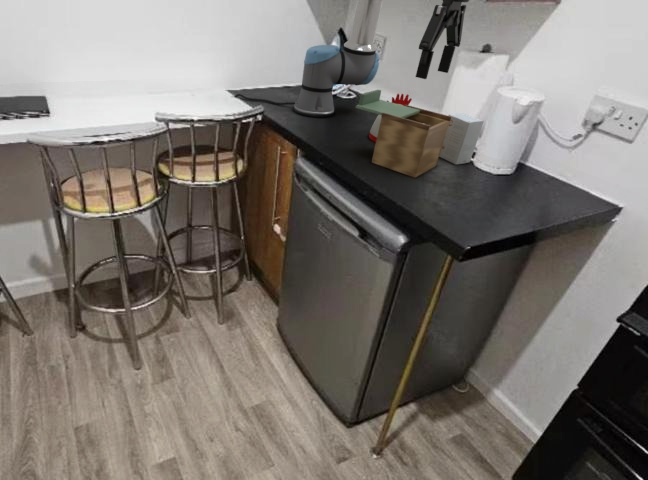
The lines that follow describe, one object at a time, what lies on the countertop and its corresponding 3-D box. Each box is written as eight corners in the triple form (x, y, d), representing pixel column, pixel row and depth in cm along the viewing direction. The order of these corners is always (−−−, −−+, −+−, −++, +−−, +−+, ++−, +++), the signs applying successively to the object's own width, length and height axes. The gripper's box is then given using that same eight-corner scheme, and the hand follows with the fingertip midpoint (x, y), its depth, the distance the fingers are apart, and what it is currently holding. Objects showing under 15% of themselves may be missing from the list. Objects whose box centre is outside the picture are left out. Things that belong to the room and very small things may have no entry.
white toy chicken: (418, 146, 150) (431, 100, 142) (380, 146, 147) (391, 99, 139) (398, 132, 161) (409, 88, 153) (362, 132, 158) (371, 87, 150)
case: (370, 162, 135) (382, 112, 127) (394, 151, 144) (406, 104, 136) (414, 178, 127) (429, 126, 119) (436, 165, 136) (451, 116, 128)
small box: (470, 162, 140) (484, 120, 133) (455, 165, 138) (469, 122, 131) (450, 153, 146) (463, 112, 139) (435, 155, 144) (448, 114, 137)
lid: (355, 107, 133) (358, 94, 131) (377, 101, 141) (380, 88, 139) (399, 120, 125) (402, 106, 123) (419, 112, 133) (423, 99, 131)
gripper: (452, -17, 99) (425, 84, 111) (491, -16, 115) (463, 72, 127) (420, -20, 103) (397, 77, 115) (462, -19, 119) (438, 66, 131)
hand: (432, 74), depth 121 cm, fingers open, 13 cm apart
